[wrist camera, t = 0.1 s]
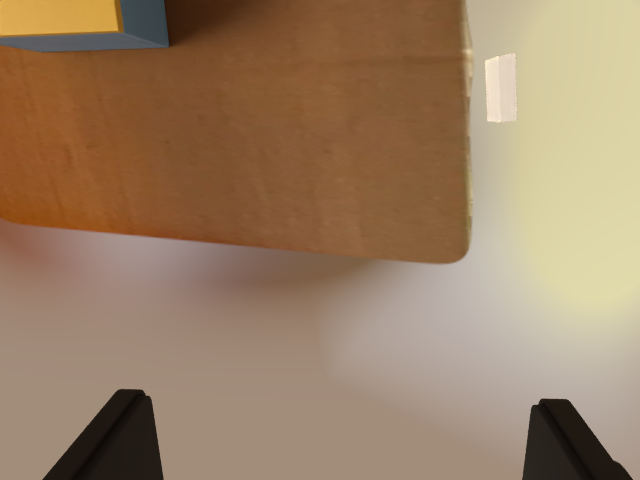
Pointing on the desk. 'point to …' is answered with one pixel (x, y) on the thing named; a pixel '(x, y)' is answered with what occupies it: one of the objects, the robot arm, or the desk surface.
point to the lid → (59, 17)
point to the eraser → (501, 88)
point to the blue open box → (139, 32)
